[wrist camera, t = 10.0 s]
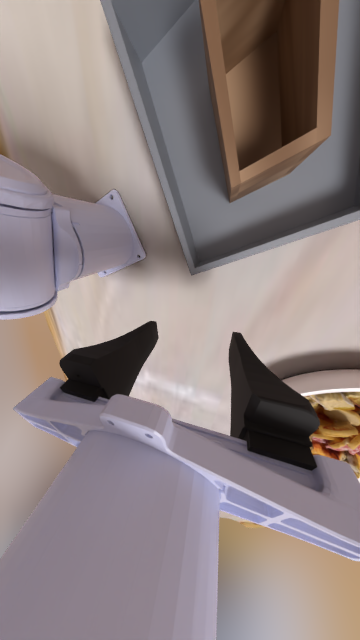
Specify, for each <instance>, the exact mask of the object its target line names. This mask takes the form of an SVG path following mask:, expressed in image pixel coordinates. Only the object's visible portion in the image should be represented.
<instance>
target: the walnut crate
mask: <svg viewBox="0 0 360 640" xmlns="http://www.w3.org/2000/svg"><path fill="white" fill-rule="evenodd" d="M199 8H200V17H201V25H202V33H203V42H204V50H205V59H206V67H207V76H208V84H209V90H210V95H211V101H212V107H213V112H214V118H215V124H216V129H217V135H218V141H219V146H220V152H221V158H222V163H223V169H224V175H225V180H226V186H227V192H228V197H229V203H231V202H233V201H235V200H237V199H240V198H242V197H244V196H246V195H248V194H250V193H252V192H254V191H256V190H258V189H260V188H262V187H264V186H266V185H268V184H270V183H272V182H274V181H276V180H278V179H280V178H282V177H284V176H286V175H288V174H290V173H291V172H292V171H293V170H294V169H295V168H296V167H297V166H298V165H300V164H301V163H302V162H303V161H304V160H305V159H306V158H307V157H308V156H309V155H310V154H311V153H312V152H314V151H315V150H316V149H317V148H318V147H319V146H320V145H321V144H322V143H323V142H324V141H325V140H327V139H328V138H329V137H330V136H331V128H332V111H333V95H334V79H335V62H336V46H337V30H338V13H339V0H199Z"/></svg>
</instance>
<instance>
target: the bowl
mask: <svg viewBox="0 0 360 640" xmlns="http://www.w3.org/2000/svg"><path fill="white" fill-rule="evenodd" d="M282 381H283V382H284V383H285V384H287V385H288V386H289V387H291V388H292V389H293V390H295V391H296V392H298V393H299V394H301V395H302V396H304V397H305V398H306V399H308V400H309V401H310V403H311V405H312V406H313V408H314V410H315V412H316V414H317V416H318V418H319V420H320V426H319V427H318V429H317V430H316V431H315V432H314V433H313V434H312V435H310V436H309V438H310V441H311V443H312V447H310V449H311V452H312V454H313V455H322V456H326V457H329V458H333V459H336V460H340V461H343V462H346V463H348V464H350V466H351V468H352V469H353V471H354V473H355V475H356V477H357V479H358V481H359V483H360V370H350V369H347V370H327V371H318V372H311V373H306V374H301V375H297V376H293V377H290V378H287V379H284V380H282Z"/></svg>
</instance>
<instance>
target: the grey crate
mask: <svg viewBox="0 0 360 640" xmlns="http://www.w3.org/2000/svg"><path fill="white" fill-rule="evenodd" d="M100 1H101V4H102V7H103V10H104V13H105V16H106V19H107V22H108V25H109V28H110V31H111V34H112V37H113V40H114V43H115V47H116V50H117V53H118V56H119V59H120V62H121V65H122V68H123V71H124V74H125V77H126V80H127V83H128V86H129V89H130V92H131V95H132V98H133V101H134V104H135V107H136V110H137V113H138V116H139V119H140V122H141V125H142V128H143V131H144V134H145V137H146V140H147V143H148V146H149V149H150V152H151V155H152V158H153V161H154V164H155V167H156V170H157V173H158V176H159V179H160V183H161V186H162V189H163V192H164V195H165V198H166V201H167V204H168V207H169V210H170V213H171V216H172V219H173V222H174V225H175V228H176V231H177V234H178V237H179V240H180V243H181V246H182V249H183V252H184V255H185V258H186V261H187V264H188V267H189V270H190V273H191V275H194V274H197V273H200V272H203V271H206V270H209V269H213V268H216V267H219V266H222V265H225V264H228V263H231V262H234V261H237V260H240V259H243V258H246V257H249V256H252V255H255V254H258V253H261V252H264V251H267V250H270V249H273V248H276V247H279V246H282V245H285V244H288V243H291V242H294V241H297V240H300V239H303V238H306V237H309V236H312V235H315V234H318V233H321V232H324V231H327V230H330V229H333V228H336V227H339V226H342V225H345V224H348V223H351V222H354V221H357V220H360V0H339V13H338V30H337V46H336V62H335V79H334V95H333V111H332V128H331V136H330V137H329V138H328V139H327V140H325V141H324V142H323V143H322V144H321V145H320V146H319V147H318V148H317V149H316V150H315V151H314V152H312V153H311V154H310V155H309V156H308V157H307V158H306V159H305V160H304V161H303V162H302V163H301V164H300V165H298V166H297V167H296V168H295V169H294V170H293V171H292V172H291V173H290V174H288V175H286V176H284V177H282V178H280V179H278V180H276V181H274V182H272V183H270V184H268V185H266V186H264V187H262V188H260V189H258V190H256V191H254V192H252V193H250V194H248V195H246V196H244V197H242V198H240V199H237V200H235V201H233V202H231V203H229V197H228V192H227V186H226V180H225V175H224V169H223V163H222V158H221V152H220V146H219V141H218V135H217V129H216V124H215V118H214V112H213V107H212V101H211V95H210V90H209V84H208V76H207V67H206V59H205V50H204V42H203V33H202V25H201V17H200V8H199V0H100Z"/></svg>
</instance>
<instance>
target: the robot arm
mask: <svg viewBox="0 0 360 640" xmlns="http://www.w3.org/2000/svg"><path fill="white" fill-rule="evenodd" d="M112 195H113V200H112ZM138 255H140V258H139V256H138ZM145 257H146V254H145V251H144V249H143V247H142V244H141V242H140V240H139V238H138V235H137V233H136V231H135V229H134V226H133V224H132V222H131V219H130V217H129V215H128V213H127V210H126V208H125V206H124V203H123V201H122V199H121V197H120V194H119V192H118V191H117V190H114V189H113V190H111V191H110V192H109V193H108V194H106V195H105V196H104V197H103V198H101V199H100V200H99V201H97V202H96V203H91V202H86V201H82V200H77V199H73V198H68V197H64V196H59V195H55V194H52V193H51V191H50V190H49V189H48V188H47V187H46V186H45V185H44V184H43V183H42V181H41V180H40V179H39V178H38V177H37V176H36V175H35V174H33V173H32V172H31V171H29V170H28V169H26V168H25V167H23V166H21V165H20V164H18V163H16V162H14V161H12V160H11V159H9V158H7V157H5V156H3V155H1V154H0V319H17V318H24V317H29V316H33V315H36V314H39V313H42V312H44V311H46V310H48V309H49V308H51V307H52V306H53V305H54V304H55V302H56V300H57V291H60V290H63V289H66V288H68V287H69V283H70V282H71V281H73V280H76V279H79V278H82V277H85V276H88V275H92V274H95V273H98V275H99V276H100V277H104V276H107V275H109V274H111V273H113V272H116V271H118V270H120V269H122V268H124V267H127V266H129V265H131V264H133V263H136V262H138V261H140V260H142V259H144V258H145ZM105 271H106V272H105ZM157 340H158V331H157V323H156V322H155V321H149V322H147V323H146V324H144V325H142V326H140V327H138V328H137V329H135V330H133V331H131V332H129V333H127V334H125V335H123V336H120V337H118V338H116V339H113V340H110V341H107V342H104V343H101V344H97V345H93V346H89V347H84V348H79V349H74V350H72V351H71V352H70V353H68V354H67V355H66V356H65V357H63V358H62V359H61V360H60V367H61V368H62V370H63V371H64V373H65V374H66V376H67V377H68V380H67V381H66V382H64V381H63V380H60V379H57V378H53V377H50V378H49V379H48V380H46V381H45V382H44V383H43V384H42V385H40V386H39V387H38V388H37V389H35V390H34V391H33V392H32V393H31V394H29V395H28V396H27V397H26V398H25V399H24V400H22V401H21V402H20V403H18V404H17V405H16V406H15V407H14V408H13V410H14V411H16V412H17V413H18V414H19V415H21V416H22V417H23V418H24V419H25V420H27V421H28V422H29V423H30V424H32V425H33V426H34V427H36V428H38V429H41V430H43V431H45V432H48V433H49V434H52V435H54V436H56V437H58V438H60V439H62V440H64V441H66V442H68V443H70V444H72V445H74V446H76V447H77V449H76V450H75V451H74V453H73V454H72V456H71V457H70V459H69V460H68V462H67V463H66V465H65V466H64V467H63V469H62V471H61V472H60V473H59V475H58V476H57V477H56V479H55V480H54V482H53V483H52V485H51V486H50V488H49V489H48V490H47V492H46V493H45V495H44V496H43V498H42V499H41V501H40V502H39V504H38V505H37V507H36V508H35V509H34V511H33V512H32V514H31V515H30V517H29V518H28V520H27V521H26V522H25V524H24V525H23V527H22V528H21V530H20V531H19V533H18V534H17V535H16V537H15V538H14V540H13V541H12V542H11V544H10V546H9V547H8V548H7V550H6V551H5V553H4V554H3V556H2V557H1V558H0V640H216V626H217V585H218V544H219V543H218V542H219V510H220V511H223V512H226V513H229V514H232V515H234V516H237V517H240V518H243V519H246V520H248V521H251V522H254V523H257V524H260V525H262V526H265V527H268V528H271V529H273V530H276V531H279V532H282V533H285V534H287V535H290V536H293V537H296V538H298V539H301V540H304V541H306V542H309V543H311V544H314V545H317V546H319V547H322V548H324V549H327V550H329V551H332V552H334V553H337V554H339V555H341V556H344V557H346V558H349V559H351V560H354V561H360V483H359V481H358V479H357V477H356V475H355V473H354V471H353V469H352V468H351V466H350V464H348V463H346V462H343V461H340V460H336V459H333V458H329V457H326V456H322V455H313V454H312V452H311V449H310V447H312V443H311V441H310V438H309V436H310V435H312V434H313V433H314V432H315V431H316V430H317V429H318V427H319V426H320V420H319V418H318V416H317V414H316V412H315V410H314V408H313V406H312V405H311V403H310V401H309V400H308V399H306V398H305V397H304V396H302V395H301V394H299V393H298V392H296V391H295V390H293V389H292V388H291V387H289V386H288V385H287V384H285V383H284V382H283V381H282V380H280V379H279V378H278V377H277V376H276V375H274V374H273V373H272V372H271V371H270V370H269V369H268V368H267V367H266V366H265V365H264V364H263V363H262V362H261V361H260V360H259V359H258V357H257V356H256V355H255V354H254V352H253V351H252V350H251V348H250V347H249V346H248V344H247V343H246V341H245V339H244V338H243V336H242V334H241V333H237V332H233V333H232V338H231V343H230V348H229V367H230V377H231V433H230V436H228V435H225V434H221V433H218V432H215V431H211V430H208V429H205V428H202V427H198V426H195V425H192V424H188V423H185V422H182V421H178V420H175V419H172V418H171V415H170V414H169V412H168V411H167V410H166V409H164V408H163V407H161V406H159V405H156V404H153V403H150V402H146V401H143V400H139V399H136V398H132V397H129V394H130V392H131V389H132V387H133V385H134V383H135V380H136V378H137V376H138V374H139V372H140V370H141V368H142V366H143V364H144V363H145V361H146V360H147V358H148V356H149V355H150V353H151V352H152V350H153V348H154V347H155V345H156V343H157Z"/></svg>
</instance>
